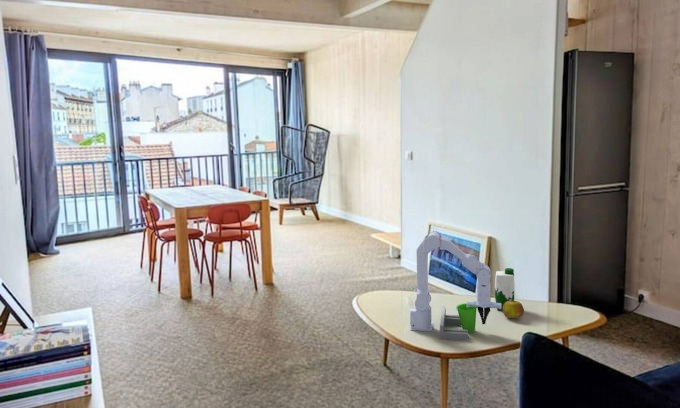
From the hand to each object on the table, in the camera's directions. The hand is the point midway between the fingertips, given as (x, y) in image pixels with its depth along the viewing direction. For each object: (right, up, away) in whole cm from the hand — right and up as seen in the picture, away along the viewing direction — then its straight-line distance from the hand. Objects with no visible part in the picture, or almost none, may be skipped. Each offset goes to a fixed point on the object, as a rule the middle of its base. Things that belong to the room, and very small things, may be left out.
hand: (483, 323), depth 215 cm
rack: (-12, -4, +4) cm, 13 cm away
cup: (-6, -4, +2) cm, 7 cm away
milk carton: (+18, 0, +28) cm, 33 cm away
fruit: (+18, -1, +15) cm, 24 cm away
